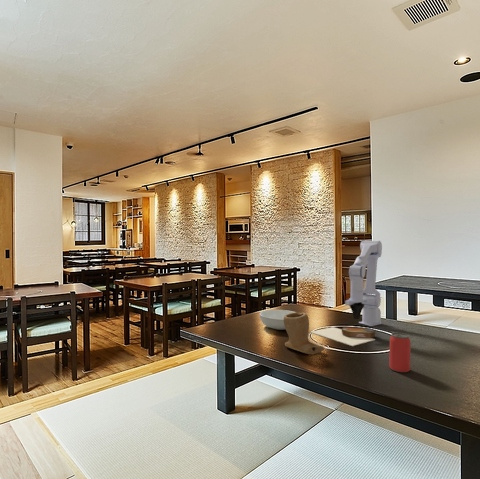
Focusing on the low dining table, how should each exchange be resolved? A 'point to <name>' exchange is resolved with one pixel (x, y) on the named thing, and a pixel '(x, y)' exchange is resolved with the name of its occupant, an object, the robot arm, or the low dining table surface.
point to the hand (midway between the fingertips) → (356, 318)
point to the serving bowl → (274, 318)
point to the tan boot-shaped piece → (299, 333)
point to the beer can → (399, 352)
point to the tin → (358, 332)
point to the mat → (341, 336)
